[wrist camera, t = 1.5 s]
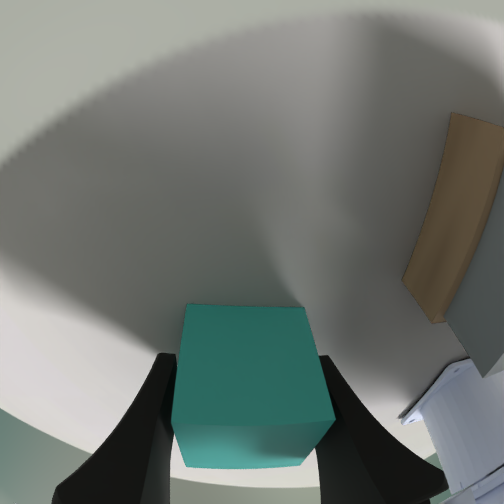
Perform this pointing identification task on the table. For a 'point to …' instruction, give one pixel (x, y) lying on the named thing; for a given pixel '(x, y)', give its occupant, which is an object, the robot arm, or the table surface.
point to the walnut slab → (456, 213)
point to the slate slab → (483, 296)
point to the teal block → (248, 388)
